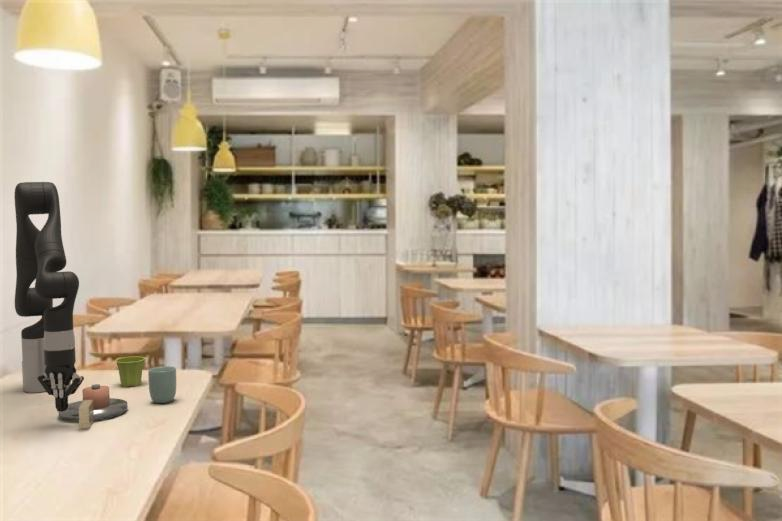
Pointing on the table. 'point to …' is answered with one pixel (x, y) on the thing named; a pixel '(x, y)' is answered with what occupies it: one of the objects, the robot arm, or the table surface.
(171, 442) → the table surface
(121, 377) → the plant pot
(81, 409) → the platter
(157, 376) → the cup
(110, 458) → the table surface
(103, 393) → the cap
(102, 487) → the table surface
